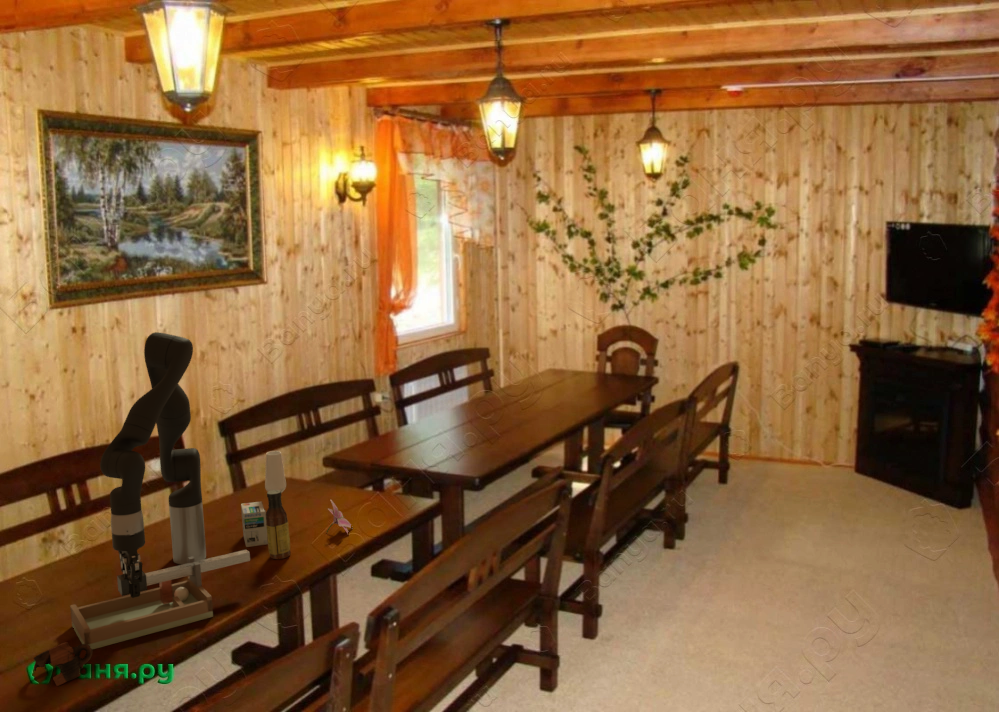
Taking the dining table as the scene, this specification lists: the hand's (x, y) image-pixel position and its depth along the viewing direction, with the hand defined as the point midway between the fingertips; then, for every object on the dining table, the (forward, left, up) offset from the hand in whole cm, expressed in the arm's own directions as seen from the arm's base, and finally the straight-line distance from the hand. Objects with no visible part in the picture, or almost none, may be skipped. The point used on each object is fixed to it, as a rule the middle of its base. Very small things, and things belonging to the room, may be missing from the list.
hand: (133, 593), depth 231 cm
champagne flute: (-43, +55, -7) cm, 70 cm away
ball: (0, +12, -3) cm, 12 cm away
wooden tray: (+3, +1, -7) cm, 7 cm away
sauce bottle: (-17, +45, -7) cm, 49 cm away
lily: (-24, +68, -7) cm, 73 cm away
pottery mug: (+19, -20, -7) cm, 29 cm away
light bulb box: (-34, +44, -7) cm, 56 cm away
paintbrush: (0, +14, -4) cm, 14 cm away
